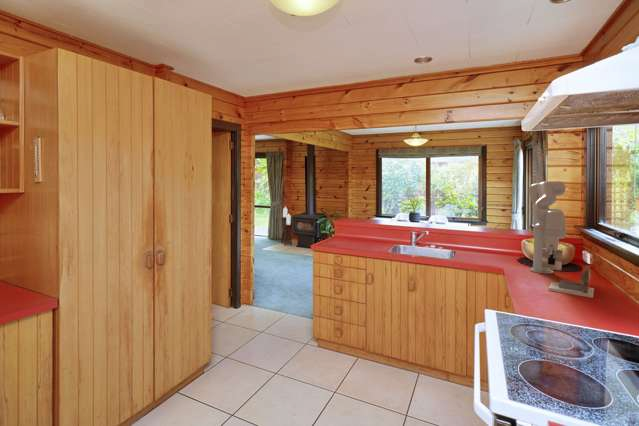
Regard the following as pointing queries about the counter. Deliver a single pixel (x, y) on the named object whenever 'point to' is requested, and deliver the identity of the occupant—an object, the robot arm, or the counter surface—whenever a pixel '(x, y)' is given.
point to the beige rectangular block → (557, 260)
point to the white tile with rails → (570, 288)
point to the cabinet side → (585, 279)
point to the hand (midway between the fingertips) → (551, 263)
